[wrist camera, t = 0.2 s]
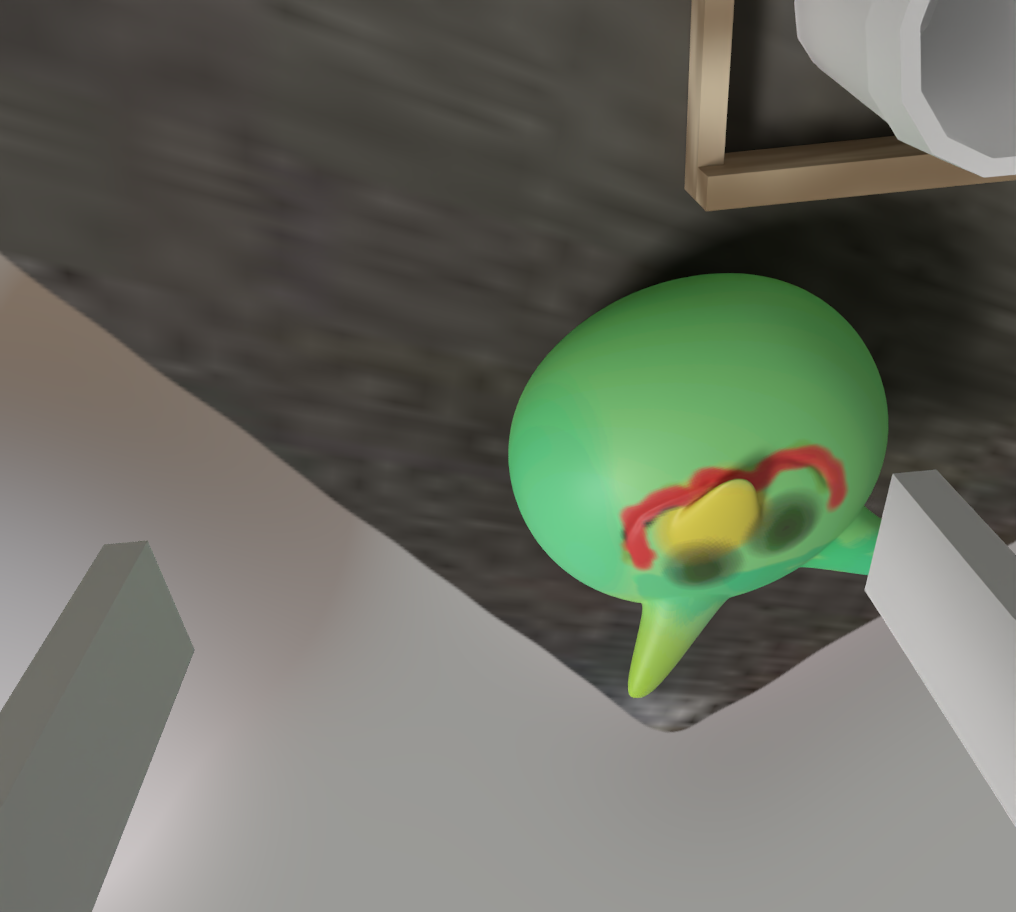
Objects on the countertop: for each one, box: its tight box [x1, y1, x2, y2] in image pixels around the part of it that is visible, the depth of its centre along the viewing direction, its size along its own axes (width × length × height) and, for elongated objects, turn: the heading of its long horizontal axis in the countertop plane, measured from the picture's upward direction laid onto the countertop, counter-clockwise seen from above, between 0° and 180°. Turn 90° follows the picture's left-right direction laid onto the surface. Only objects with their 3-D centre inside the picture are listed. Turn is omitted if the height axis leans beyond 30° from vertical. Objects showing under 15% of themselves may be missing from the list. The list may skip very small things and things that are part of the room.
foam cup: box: [794, 0, 1016, 178], centre depth 28 cm, size 10×9×13 cm
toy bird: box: [509, 273, 888, 698], centre depth 37 cm, size 18×17×15 cm
